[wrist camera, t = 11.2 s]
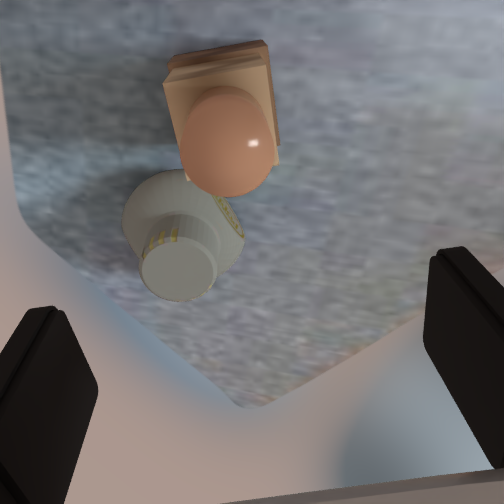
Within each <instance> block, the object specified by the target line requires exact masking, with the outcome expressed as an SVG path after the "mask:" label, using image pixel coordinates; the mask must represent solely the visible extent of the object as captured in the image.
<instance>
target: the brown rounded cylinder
mask: <svg viewBox="0 0 504 504" xmlns="http://www.w3.org/2000/svg"><path fill="white" fill-rule="evenodd" d="M274 154H275V148H274V141H273V138H272V135H271V132H270V129H269V126H268V123H267V120H266V117H265V114H264V112H263V109H262V107H261V106H260V104H259V103H258V101H257V100H256V99H255V98H254V97H253V96H252V95H251V94H249V93H248V92H246V91H245V90H243V89H240V88H237V87H233V86H219V87H215V88H212V89H209V90H208V91H206V92H204V93H203V94H202V95H200V96H199V97H198V98H197V99H196V101H195V102H194V103H193V105H192V107H191V109H190V111H189V114H188V118H187V121H186V124H185V128H184V131H183V135H182V138H181V142H180V158H181V162H182V166H183V168H184V170H185V172H186V174H187V176H188V177H189V178H190V180H191V181H192V182H193V183H194V184H195V185H196V186H197V187H199V188H200V189H201V190H203V191H205V192H207V193H209V194H212V195H215V196H220V197H236V196H241V195H244V194H246V193H248V192H250V191H252V190H254V189H255V188H257V187H258V186H259V185H260V184H261V183H262V182H263V181H264V180H265V179H266V177H267V176H268V174H269V172H270V170H271V168H272V165H273V161H274Z"/></svg>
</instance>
